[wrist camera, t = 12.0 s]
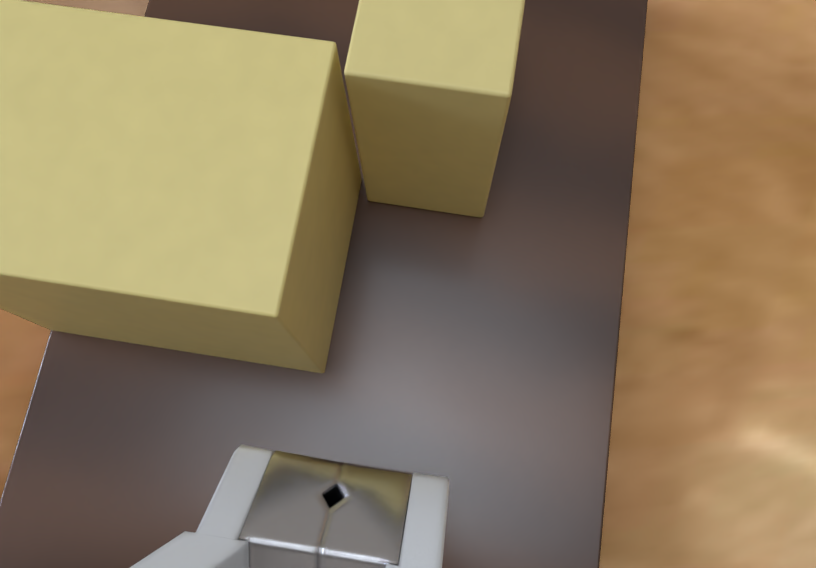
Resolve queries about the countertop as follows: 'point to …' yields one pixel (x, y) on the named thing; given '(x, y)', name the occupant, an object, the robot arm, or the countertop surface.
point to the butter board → (388, 338)
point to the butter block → (174, 183)
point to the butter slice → (432, 98)
